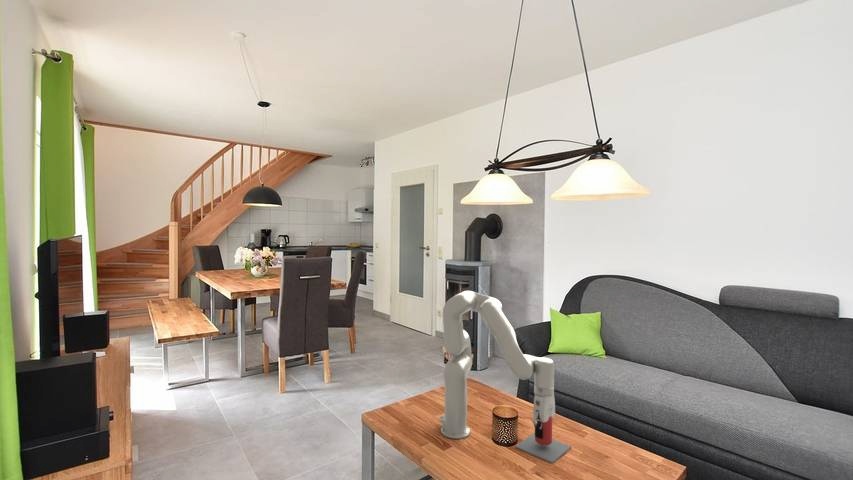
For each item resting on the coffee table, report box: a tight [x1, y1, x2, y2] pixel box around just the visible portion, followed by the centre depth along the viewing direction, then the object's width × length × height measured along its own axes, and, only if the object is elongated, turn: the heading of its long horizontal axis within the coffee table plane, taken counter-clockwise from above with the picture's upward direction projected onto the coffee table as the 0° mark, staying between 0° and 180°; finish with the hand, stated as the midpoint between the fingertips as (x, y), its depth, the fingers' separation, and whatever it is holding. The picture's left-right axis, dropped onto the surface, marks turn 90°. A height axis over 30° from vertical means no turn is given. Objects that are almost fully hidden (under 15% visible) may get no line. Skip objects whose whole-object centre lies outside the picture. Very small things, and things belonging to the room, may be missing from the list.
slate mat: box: [514, 432, 572, 464], centre depth 160 cm, size 16×16×1 cm
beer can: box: [535, 416, 553, 445], centre depth 160 cm, size 7×7×12 cm
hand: (543, 434), depth 160 cm, fingers closed on beer can, 6 cm apart
